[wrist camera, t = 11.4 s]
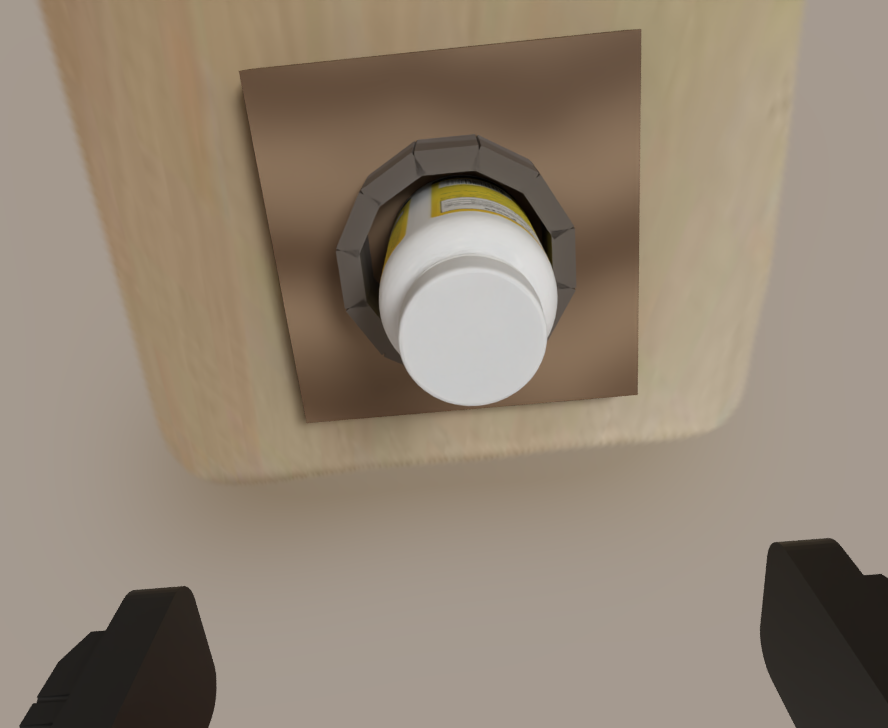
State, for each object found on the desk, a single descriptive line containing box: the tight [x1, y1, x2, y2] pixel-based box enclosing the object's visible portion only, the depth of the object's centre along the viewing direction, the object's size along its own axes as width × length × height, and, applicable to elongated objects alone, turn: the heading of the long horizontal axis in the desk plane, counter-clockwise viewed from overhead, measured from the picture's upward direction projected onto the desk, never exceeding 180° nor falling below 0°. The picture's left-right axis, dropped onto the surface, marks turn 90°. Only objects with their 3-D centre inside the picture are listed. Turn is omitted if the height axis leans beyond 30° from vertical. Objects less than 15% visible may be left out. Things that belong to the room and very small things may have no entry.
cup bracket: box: [239, 29, 641, 423], centre depth 28 cm, size 14×14×5 cm
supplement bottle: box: [379, 175, 558, 406], centre depth 24 cm, size 5×5×10 cm
